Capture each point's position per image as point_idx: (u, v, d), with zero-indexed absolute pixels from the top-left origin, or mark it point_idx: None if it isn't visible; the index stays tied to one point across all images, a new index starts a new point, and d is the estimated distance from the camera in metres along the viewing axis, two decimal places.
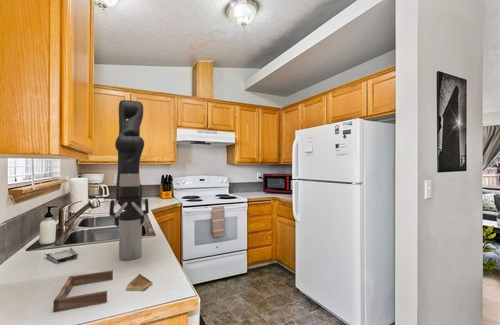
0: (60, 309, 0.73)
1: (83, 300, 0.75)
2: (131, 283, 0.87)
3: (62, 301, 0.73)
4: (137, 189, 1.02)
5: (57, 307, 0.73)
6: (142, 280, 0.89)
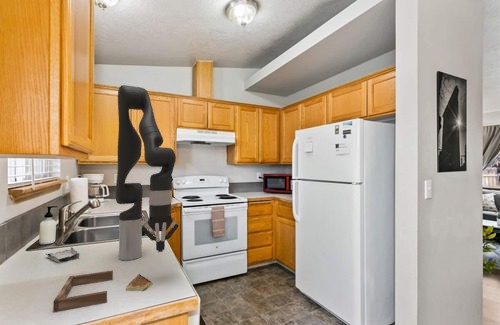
0: (60, 309, 0.73)
1: (83, 300, 0.75)
2: (131, 283, 0.87)
3: (62, 301, 0.73)
4: (169, 208, 0.90)
5: (57, 307, 0.73)
6: (142, 280, 0.89)
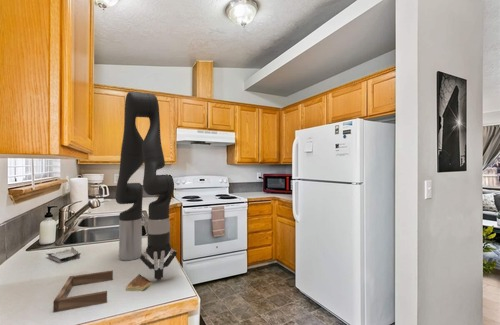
0: (60, 309, 0.73)
1: (83, 300, 0.75)
2: (131, 283, 0.87)
3: (62, 301, 0.73)
4: (167, 236, 0.90)
5: (57, 307, 0.73)
6: (142, 280, 0.89)
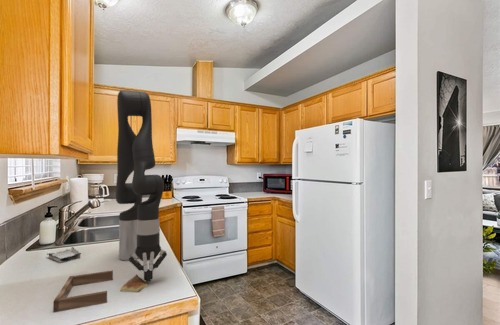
0: (60, 309, 0.73)
1: (83, 300, 0.75)
2: (126, 284, 0.87)
3: (62, 301, 0.73)
4: (157, 237, 0.89)
5: (57, 307, 0.73)
6: (137, 281, 0.88)
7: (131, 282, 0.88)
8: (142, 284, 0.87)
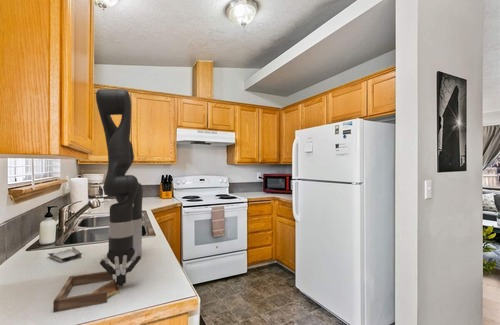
0: (60, 309, 0.73)
1: (83, 300, 0.75)
2: (98, 289, 0.83)
3: (62, 301, 0.73)
4: (130, 240, 0.86)
5: (57, 307, 0.73)
6: (110, 287, 0.84)
7: (104, 287, 0.84)
8: (113, 291, 0.82)
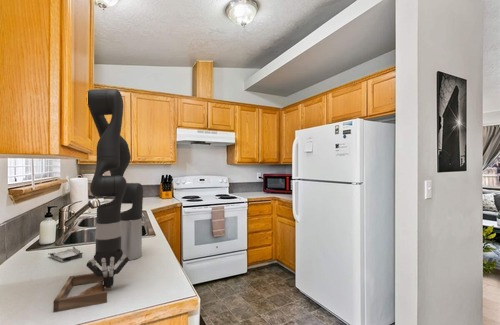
0: (60, 309, 0.73)
1: (83, 300, 0.75)
2: (84, 292, 0.81)
3: (62, 301, 0.73)
4: (117, 241, 0.84)
5: (57, 307, 0.73)
6: (97, 289, 0.83)
7: (90, 290, 0.83)
8: None
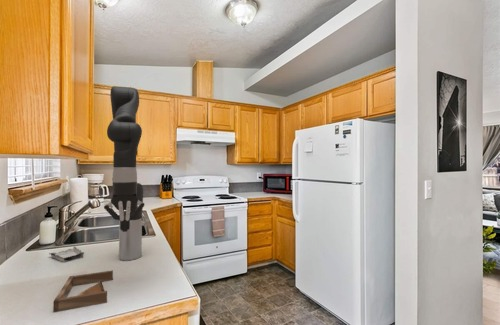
0: (60, 309, 0.73)
1: (83, 300, 0.75)
2: (84, 292, 0.81)
3: (62, 301, 0.73)
4: (133, 186, 0.86)
5: (57, 307, 0.73)
6: (96, 289, 0.83)
7: (90, 290, 0.82)
8: None
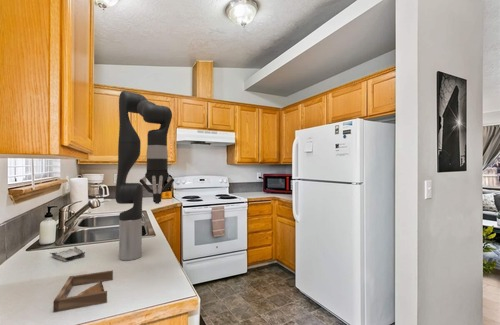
0: (60, 309, 0.73)
1: (83, 300, 0.75)
2: (84, 292, 0.81)
3: (62, 301, 0.73)
4: (165, 162, 0.96)
5: (57, 307, 0.73)
6: (96, 289, 0.83)
7: (90, 290, 0.82)
8: None
